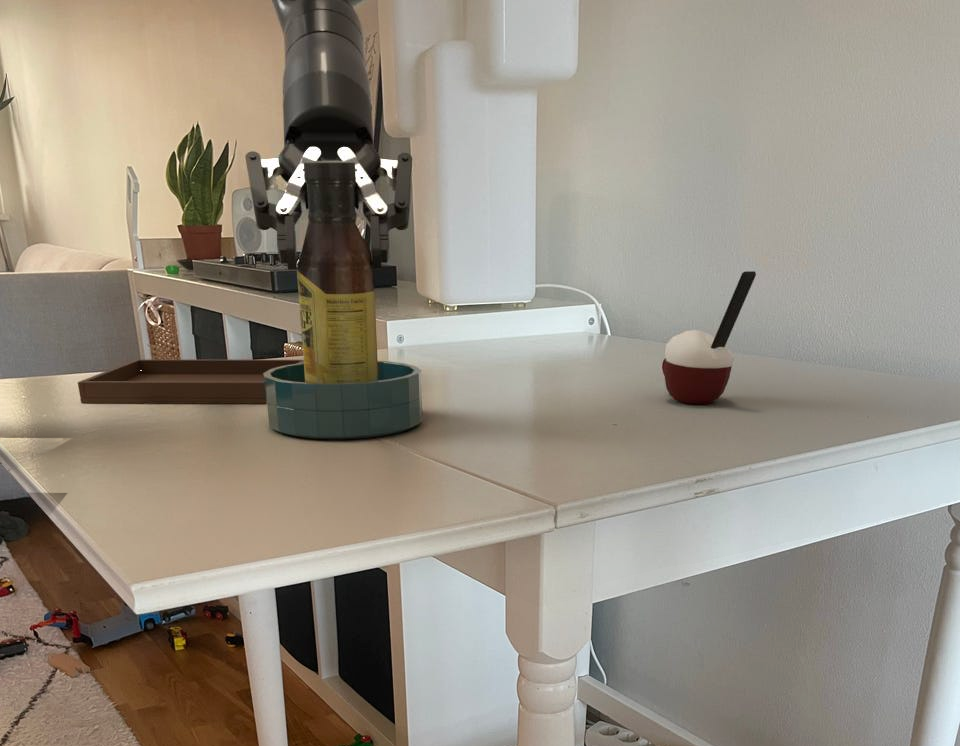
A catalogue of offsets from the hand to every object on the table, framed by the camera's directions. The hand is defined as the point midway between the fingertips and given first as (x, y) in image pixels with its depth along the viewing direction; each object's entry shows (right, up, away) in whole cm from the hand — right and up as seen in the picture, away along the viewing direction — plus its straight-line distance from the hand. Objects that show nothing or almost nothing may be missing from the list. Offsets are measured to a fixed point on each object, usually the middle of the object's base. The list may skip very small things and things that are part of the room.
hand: (334, 262), depth 78 cm
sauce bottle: (0, -11, +7) cm, 13 cm away
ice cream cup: (+32, -8, +16) cm, 37 cm away
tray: (-17, -4, +23) cm, 29 cm away
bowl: (0, -11, +7) cm, 13 cm away
